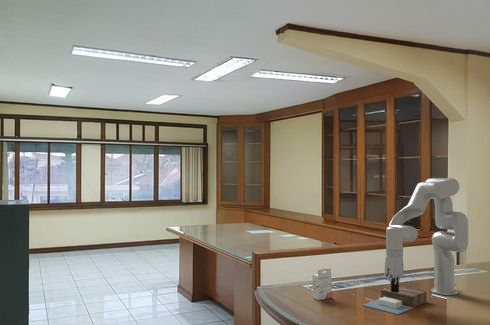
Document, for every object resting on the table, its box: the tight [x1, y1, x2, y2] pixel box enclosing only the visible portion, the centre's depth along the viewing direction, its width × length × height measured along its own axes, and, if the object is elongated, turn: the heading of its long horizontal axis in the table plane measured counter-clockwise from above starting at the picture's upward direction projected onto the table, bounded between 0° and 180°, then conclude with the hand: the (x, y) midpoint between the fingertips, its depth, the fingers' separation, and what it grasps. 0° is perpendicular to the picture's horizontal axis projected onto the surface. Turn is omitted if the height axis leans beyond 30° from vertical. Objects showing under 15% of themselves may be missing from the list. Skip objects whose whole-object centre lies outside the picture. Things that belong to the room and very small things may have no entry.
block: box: [377, 297, 402, 309], centre depth 205 cm, size 6×9×2 cm, turn 42°
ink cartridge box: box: [311, 267, 333, 301], centre depth 219 cm, size 9×5×15 cm, turn 117°
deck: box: [380, 285, 427, 308], centre depth 213 cm, size 14×16×5 cm
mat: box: [362, 299, 415, 316], centre depth 203 cm, size 14×18×1 cm
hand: (394, 291), depth 208 cm, fingers closed
